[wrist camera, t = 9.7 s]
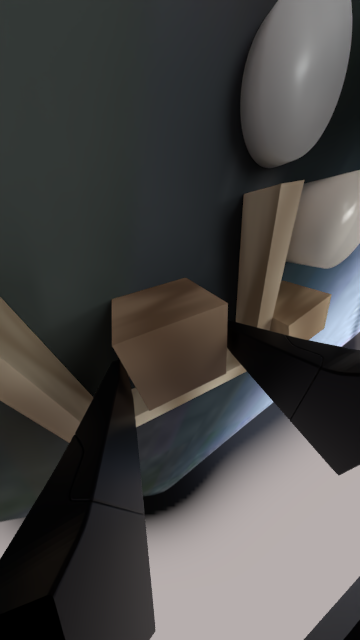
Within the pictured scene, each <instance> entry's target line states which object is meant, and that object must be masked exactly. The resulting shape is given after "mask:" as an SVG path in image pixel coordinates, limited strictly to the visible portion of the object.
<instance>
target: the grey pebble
mask: <svg viewBox="0 0 360 640" xmlns="http://www.w3.org/2000/svg"><path fill="white" fill-rule="evenodd" d="M351 37H352V4H351V0H278V1H277V3H276V4H275V5H274V7H273V8H272V9H271V11H270V12H269V14H268V15H267V16H266V18H265V19H264V20H263V22H262V24H261V25H260V27H259V29H258V31H257V33H256V35H255V37H254V39H253V42H252V45H251V47H250V50H249V53H248V57H247V60H246V64H245V69H244V73H243V79H242V86H241V98H240V115H241V126H242V133H243V137H244V141H245V144H246V147H247V149H248V152H249V154H250V155H251V157H252V158H253V160H254V161H255V162H256V163H257V164H258V165H260V166H262V167H264V168H275V167H278V166H280V165H283V164H285V163H288V162H291V161H293V160H296V159H298V158H300V157H302V156H303V155H305V154H306V153H307V152H308V151H309V150H310V149H311V148H312V147H313V146H314V145H315V144H316V142H317V141H318V140H319V138H320V137H321V135H322V134H323V132H324V130H325V128H326V127H327V125H328V123H329V121H330V119H331V117H332V114H333V112H334V110H335V107H336V105H337V102H338V99H339V96H340V93H341V90H342V86H343V83H344V79H345V75H346V71H347V66H348V61H349V54H350V47H351Z"/></svg>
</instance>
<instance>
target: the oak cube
mask: <svg viewBox="0 0 360 640" xmlns="http://www.w3.org/2000/svg"><path fill="white" fill-rule="evenodd" d="M330 299H331V294H328V293H324V292H321V291H317V290H314V289H310V288H307V287H303V286H300V285H297V284H293V283H290V282H286V281H281V283H280V288H279V292H278V296H277V301H276V305H275V309H274V314H273V318H272V322H271V327H270V331H273V332H277V333H281V334H284V335H289V336H292V337H297V338H301V339H305V340H309V339H310V338H312V337H313V336H314V335H316V334H317V333H318V332H320V331H321V330H322V329H324V327H325V322H326V318H327V313H328V308H329V304H330Z"/></svg>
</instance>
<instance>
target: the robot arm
mask: <svg viewBox="0 0 360 640" xmlns="http://www.w3.org/2000/svg"><path fill="white" fill-rule="evenodd" d="M227 348H228V350H229V351H230V352H231V354H232V355H233V356H234V357H235V358H236V359H237V361H238V362H239V363H240V364H241V365H242V366H243V367H244V369H245V370H246V371H247V372H248V373H249V374H250V375H251V377H252V378H253V379H254V380H255V381H256V382H257V383H258V384H259V386H260V387H261V388H262V389H263V390H264V391H265V392H266V394H267V395H268V396H269V397H270V398H271V399H272V400H273V402H274V403H275V404H276V405H277V406H278V407H279V408H280V410H281V411H282V412H283V413H284V414H285V415H286V416H287V417H288V419H290V421H291V422H292V423H293V425H294V426H295V427H296V428H297V429H298V430H299V431H300V433H301V434H302V435H303V436H304V437H305V438H306V439H307V440H308V442H309V443H310V444H311V445H312V446H313V447H314V448H315V450H316V451H317V452H318V453H319V454H320V455H321V456H322V458H323V459H324V460H325V461H326V462H327V463H328V464H329V465H330V467H331V468H332V469H333V470H334V471H335V472H336V473H337V474H338V475H341V474H343V473H345V472H346V471H348V470H350V469H352V468H354V467H356V466H358V465H360V350H354V349H348V348H344V347H339V346H334V345H329V344H324V343H319V342H314V341H309V340H305V339H301V338H297V337H292V336H289V335H284V334H281V333H277V332H273V331H269V330H265V329H261V328H257V327H254V326H250V325H246V324H242V323H238V322H234V321H230V320H227ZM154 632H155V620H154V609H153V599H152V588H151V577H150V568H149V556H148V546H147V536H146V525H145V516H144V505H143V494H142V483H141V473H140V462H139V452H138V441H137V431H136V420H135V410H134V400H133V394H132V390H131V385H130V381H129V376H128V373H127V371H126V369H125V368H124V366H123V364H122V362H121V360H120V359H118V360H116V361H113V362H112V363H111V365H110V367H109V369H108V371H107V373H106V375H105V377H104V379H103V381H102V382H101V384H100V386H99V388H98V390H97V392H96V394H95V396H94V398H93V400H92V401H91V403H90V405H89V407H88V409H87V411H86V413H85V415H84V417H83V419H82V420H81V422H80V424H79V426H78V428H77V430H76V432H75V435H74V436H73V437H72V439H71V441H70V443H69V445H68V447H67V449H66V450H65V452H64V454H63V456H62V458H61V460H60V461H59V463H58V465H57V467H56V468H55V470H54V472H53V473H52V475H51V477H50V478H49V480H48V482H47V484H46V485H45V487H44V489H43V490H42V492H41V493H40V495H39V497H38V498H37V500H36V502H35V503H34V505H33V507H32V508H31V510H30V511H29V513H28V515H27V516H26V518H25V520H24V521H23V523H22V525H21V526H20V528H19V530H18V531H17V533H16V534H15V536H14V538H13V539H12V541H11V543H10V544H9V546H8V548H7V549H6V551H5V552H4V554H3V556H2V557H1V559H0V640H150V638H151V637H152V635H153V634H154ZM304 640H360V577H359V578H358V579H357V580H356V581H355V582H354V583H353V585H352V586H351V587H350V588H349V589H348V590H347V591H346V593H345V594H344V595H343V596H342V597H341V598H340V599H339V600H338V602H337V603H336V604H335V605H334V606H333V607H332V608H331V609H330V611H329V612H328V613H327V614H326V615H325V616H324V617H323V618H322V620H321V621H320V622H319V623H318V624H317V625H316V626H315V628H314V629H313V630H312V631H311V632H310V633H309V634H308V635H307V637H306V638H305V639H304Z"/></svg>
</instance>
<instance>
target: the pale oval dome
mask: <svg viewBox="0 0 360 640" xmlns="http://www.w3.org/2000/svg"><path fill="white" fill-rule="evenodd" d="M359 243H360V170H357V171H353V172H349V173H345V174H341V175H337V176H333V177H329V178H325V179H321V180H317V181H313V182H309V183H305V184H303V188H302V193H301V197H300V201H299V206H298V210H297V214H296V218H295V223H294V227H293V231H292V236H291V240H290V244H289V249H288V253H287V257H286V262H291V263H297V264H302V265H308V266H314V267H320V268H331V267H334V266H336V265H338V264H339V263H341V262H342V261H343V260H344V259H346V258H347V257H348V256H349V255H350V254H351V253H352V252H353V250H354V249H355V248H356V247H357V246H358V244H359Z"/></svg>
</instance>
